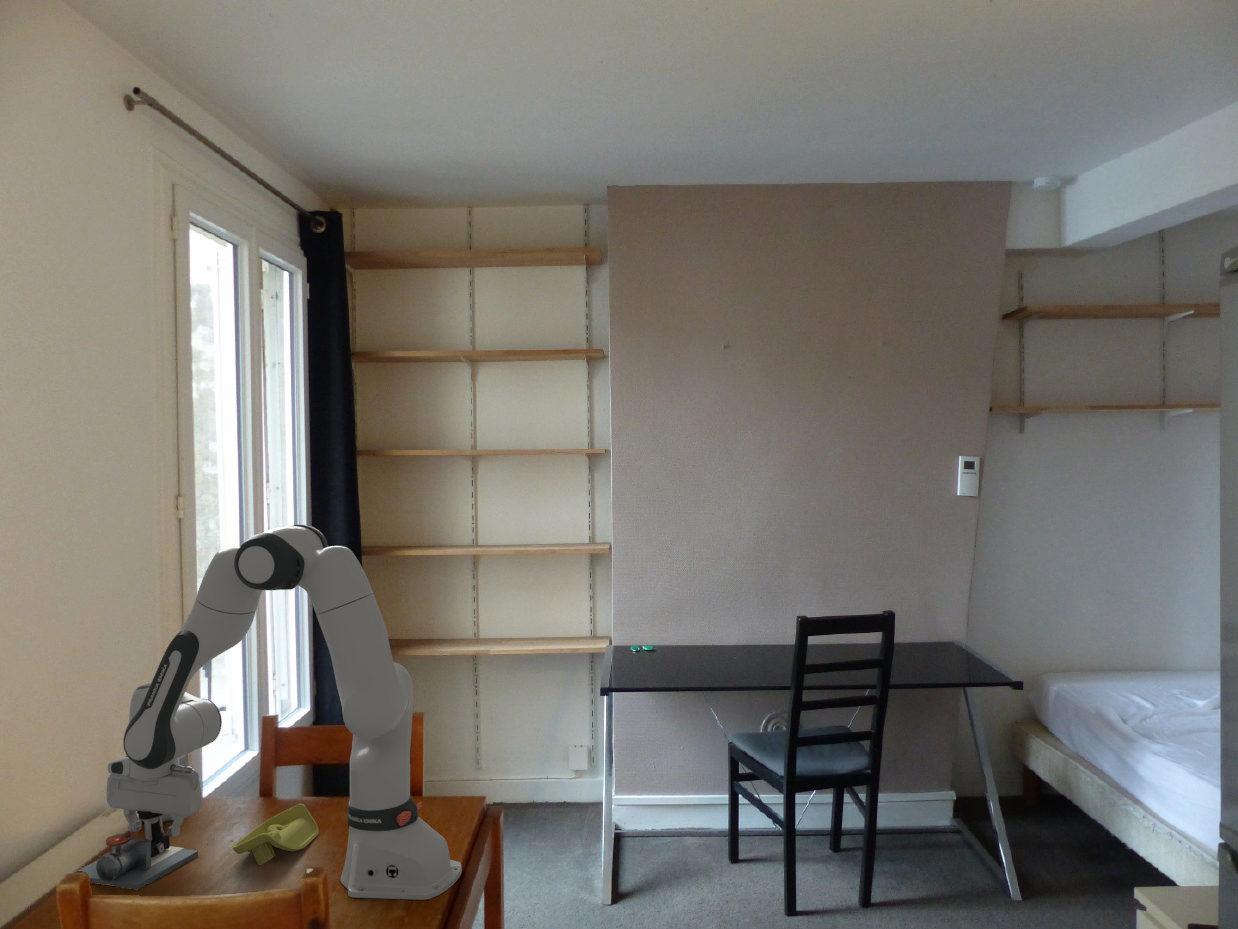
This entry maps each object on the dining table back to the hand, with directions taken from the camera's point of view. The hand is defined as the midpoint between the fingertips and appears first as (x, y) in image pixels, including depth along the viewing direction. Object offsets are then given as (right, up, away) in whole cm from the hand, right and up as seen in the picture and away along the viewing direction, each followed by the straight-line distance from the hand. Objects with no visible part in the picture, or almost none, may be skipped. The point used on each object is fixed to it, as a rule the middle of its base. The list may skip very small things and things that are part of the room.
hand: (154, 833), depth 171 cm
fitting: (-2, -4, -8) cm, 9 cm away
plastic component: (+22, -6, +4) cm, 23 cm away
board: (-2, -5, -3) cm, 7 cm away
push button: (0, -4, 0) cm, 4 cm away
